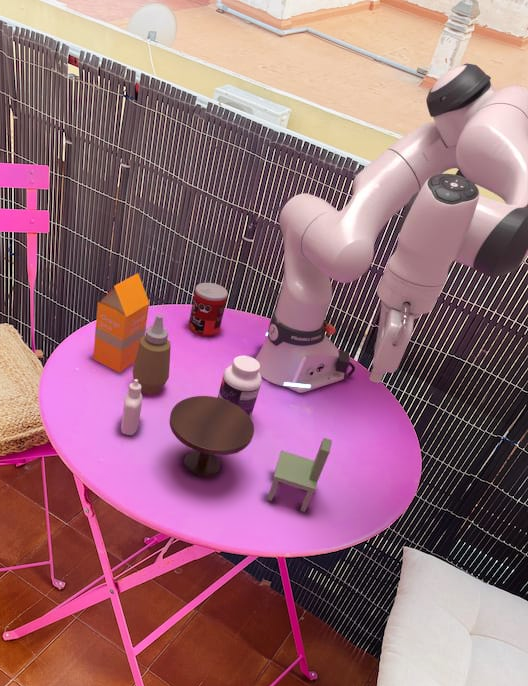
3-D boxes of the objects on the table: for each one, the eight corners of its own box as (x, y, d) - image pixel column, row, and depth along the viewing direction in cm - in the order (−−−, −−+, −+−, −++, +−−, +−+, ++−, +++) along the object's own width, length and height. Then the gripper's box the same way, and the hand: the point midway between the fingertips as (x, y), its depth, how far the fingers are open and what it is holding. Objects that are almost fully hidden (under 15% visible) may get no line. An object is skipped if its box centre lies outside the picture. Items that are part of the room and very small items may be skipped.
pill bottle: (207, 408, 150) (220, 353, 140) (240, 404, 152) (255, 350, 142) (222, 432, 144) (236, 376, 134) (255, 427, 147) (272, 372, 137)
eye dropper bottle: (112, 428, 140) (118, 380, 132) (130, 416, 144) (137, 369, 135) (128, 438, 138) (135, 391, 130) (146, 426, 142) (153, 379, 134)
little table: (248, 453, 141) (261, 410, 133) (231, 504, 129) (244, 460, 122) (175, 430, 143) (183, 386, 135) (151, 478, 131) (159, 434, 123)
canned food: (183, 322, 174) (190, 282, 166) (212, 320, 177) (220, 281, 169) (194, 338, 169) (202, 299, 162) (223, 336, 172) (232, 297, 164)
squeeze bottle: (168, 380, 155) (180, 310, 143) (164, 401, 149) (177, 330, 137) (133, 373, 155) (142, 303, 142) (128, 394, 149) (137, 323, 136)
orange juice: (92, 358, 157) (99, 279, 143) (115, 343, 162) (124, 265, 149) (119, 373, 154) (129, 293, 140) (142, 357, 160) (153, 279, 146)
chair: (311, 486, 136) (333, 433, 127) (305, 513, 130) (328, 459, 121) (273, 474, 137) (291, 420, 127) (265, 500, 131) (284, 446, 122)
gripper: (428, 327, 96) (391, 404, 106) (430, 268, 111) (398, 340, 120) (384, 315, 97) (351, 392, 106) (392, 257, 111) (363, 330, 121)
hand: (376, 364), depth 113 cm, fingers open, 8 cm apart
